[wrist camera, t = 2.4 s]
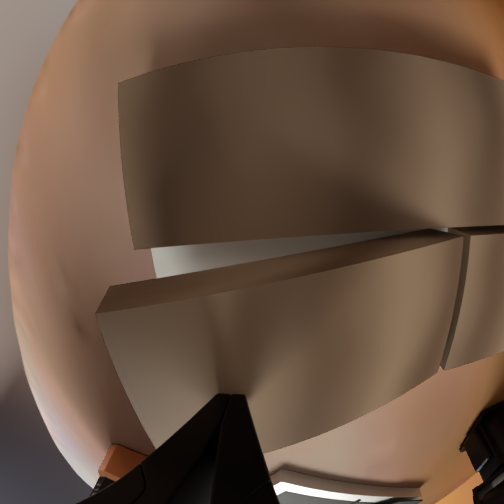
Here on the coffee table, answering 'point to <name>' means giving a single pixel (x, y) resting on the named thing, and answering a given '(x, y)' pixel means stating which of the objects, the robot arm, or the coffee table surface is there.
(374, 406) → the loose plank
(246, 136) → the laid planks
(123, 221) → the coffee table surface
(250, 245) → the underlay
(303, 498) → the picture frame
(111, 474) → the whiskey bottle
